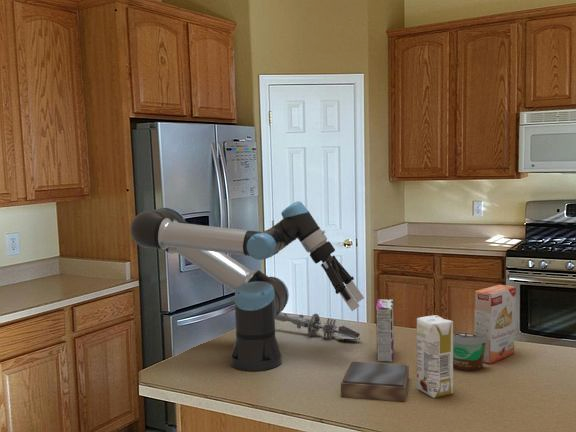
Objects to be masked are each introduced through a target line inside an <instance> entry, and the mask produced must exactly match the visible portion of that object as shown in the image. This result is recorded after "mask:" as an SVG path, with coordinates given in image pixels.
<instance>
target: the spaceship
mask: <svg viewBox="0 0 576 432" xmlns="http://www.w3.org/2000/svg"><path fill="white" fill-rule="evenodd" d="M275 320H276V321H279V322H290V323H292V324H294V326H295V325H296V328H297V329H299V330H300V329H301V327H303V328H306V329H307V334H308V336H309V337H310V338H311V337H314V336H316V335H317V334H318V332H319V331H320V330H321V332H322V333H323V336H322V338H323V339H326V340H329V341H330V340H332V337H333V336H335V335H336V336H337V337H338V338H339V339H341V340H342V339H343V340H344V341H359V340H361V336H362V334H361V333H359V332H358V331H356V330H354V329H352V328H350V327H348V326H345V325H341V326H338V327H337V326H336V321H337V320H336V319H332V318H327V319H326V320H327V321H326V322H324V323H323V322H321V318H320V315H319V314H318V313H314V314H312V315H311V316H310V318H304V315H303V314H299V316H289V315H288V314H287V313H284V312H283V311H282V312H280V313H279V314H278V315H276V316H275ZM336 333H337V334H336ZM359 336H360V337H359Z"/></svg>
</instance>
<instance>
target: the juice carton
mask: <svg viewBox="0 0 576 432" xmlns="http://www.w3.org/2000/svg"><path fill="white" fill-rule="evenodd" d="M453 334H454V321H453V320H450V319H445V318H444V317H441V316H439V315H438V314H436V315H434V314H433V315H427V316H420V317H417V318H416V387H417V390H418V391H420V392H422V393H423V394H425V395H428V396H429V397H430V398H433V399H436V398H440V397H444V396H449V395H452V394H453V392H454V369H453Z"/></svg>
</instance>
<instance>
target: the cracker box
mask: <svg viewBox="0 0 576 432" xmlns="http://www.w3.org/2000/svg"><path fill="white" fill-rule="evenodd" d="M516 292H517V287H516V286H513V285H505V284H496V285H494V286H489V287H486V288H485V287H484V288H481V289H477V290H475V291H474V328H473V331H474V332H473V335H479V336H482V335H485V334H486V335H487V337H488V341H487V342H485V350H484V358H483V363H486V364H490V365H491V364H493V363H495V362H497V361H501V360H503V359H504V358H506V357H510V356H511V355H512V356H513V355H514V354H515V335H516V334H515V333H516V332H515V331H516V330H515V329H516V297H517V295H516V294H517V293H516Z"/></svg>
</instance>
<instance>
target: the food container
mask: <svg viewBox="0 0 576 432" xmlns="http://www.w3.org/2000/svg"><path fill="white" fill-rule="evenodd" d="M487 341H488V337H487V335H486V334H485V335H482V336H479V335H474V334H471V333H468V332H467V333H466V332H463V333H462V332H461V333H453V370H454V369H455V370H456V371H461V372H462V371H464V372H477V371H480V370H481V369H483V366H484V362H483V358H484V350H485V342H487Z"/></svg>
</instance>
